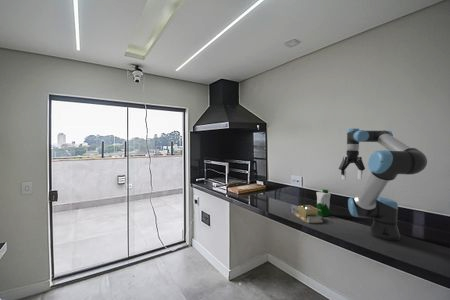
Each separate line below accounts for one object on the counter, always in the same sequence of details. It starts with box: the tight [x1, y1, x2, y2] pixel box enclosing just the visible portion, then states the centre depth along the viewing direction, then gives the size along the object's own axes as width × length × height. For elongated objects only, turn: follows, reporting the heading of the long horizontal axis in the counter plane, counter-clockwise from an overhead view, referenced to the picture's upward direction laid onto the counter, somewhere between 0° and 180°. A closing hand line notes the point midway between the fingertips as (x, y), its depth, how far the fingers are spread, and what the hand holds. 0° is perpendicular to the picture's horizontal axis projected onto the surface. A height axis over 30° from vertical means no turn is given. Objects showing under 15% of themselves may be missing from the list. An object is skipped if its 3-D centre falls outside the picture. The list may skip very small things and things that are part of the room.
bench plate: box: [293, 212, 324, 224], centre depth 158 cm, size 19×12×2 cm, turn 12°
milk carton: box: [316, 189, 331, 218], centre depth 167 cm, size 9×9×20 cm
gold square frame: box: [297, 204, 319, 219], centre depth 158 cm, size 10×10×7 cm
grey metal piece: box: [294, 206, 323, 221], centre depth 158 cm, size 19×10×7 cm, turn 12°
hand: (351, 179), depth 150 cm, fingers open, 13 cm apart
